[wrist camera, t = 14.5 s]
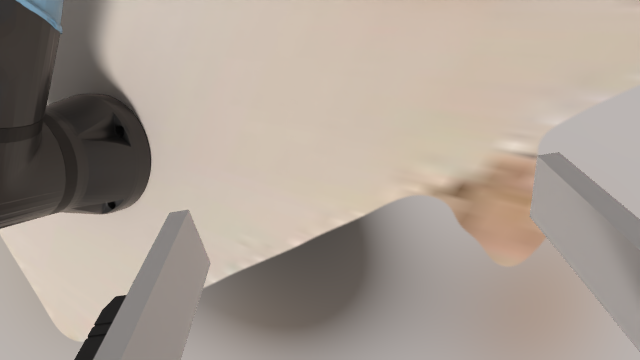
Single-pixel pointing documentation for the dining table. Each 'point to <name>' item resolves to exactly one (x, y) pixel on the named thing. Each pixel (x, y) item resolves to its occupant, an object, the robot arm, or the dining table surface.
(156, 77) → the dining table surface
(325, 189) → the dining table surface
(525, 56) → the dining table surface
